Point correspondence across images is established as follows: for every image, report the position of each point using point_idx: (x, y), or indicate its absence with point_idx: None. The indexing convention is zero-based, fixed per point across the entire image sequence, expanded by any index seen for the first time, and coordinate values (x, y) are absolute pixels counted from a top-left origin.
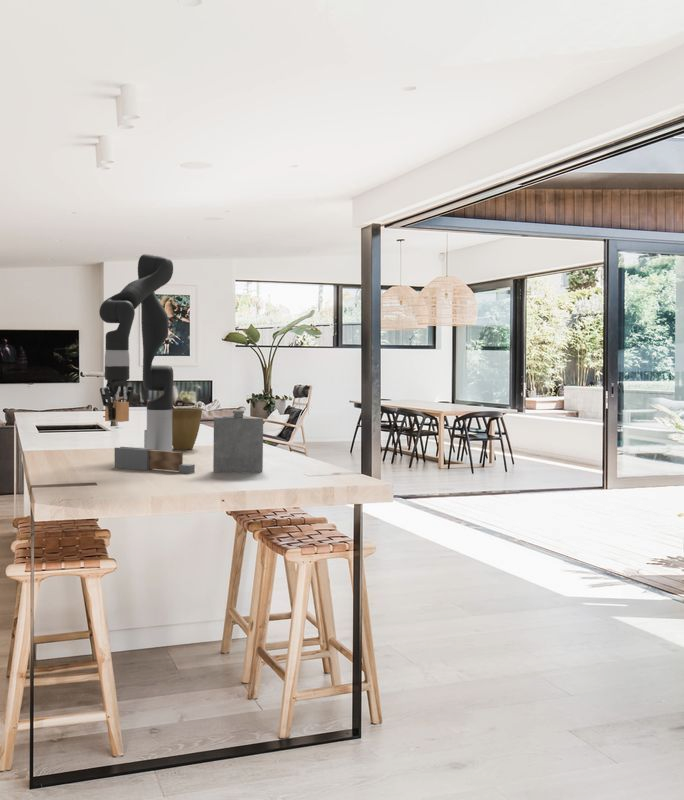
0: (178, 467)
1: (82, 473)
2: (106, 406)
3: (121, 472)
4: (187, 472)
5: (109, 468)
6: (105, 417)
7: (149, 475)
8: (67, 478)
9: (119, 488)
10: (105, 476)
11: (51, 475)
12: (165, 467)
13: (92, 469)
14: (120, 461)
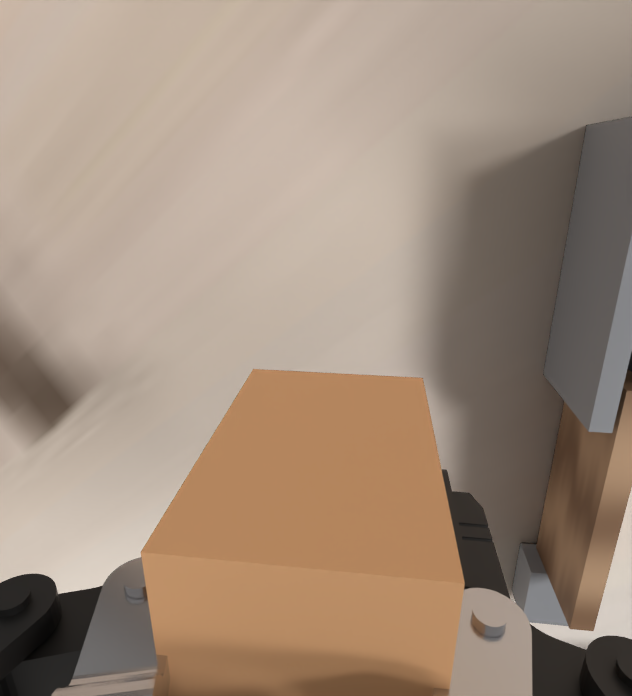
0: (543, 551)
1: (259, 135)
2: (68, 593)
3: (402, 306)
4: (514, 585)
5: (525, 129)
6: (242, 393)
7: None
8: (81, 197)
9: (44, 542)
10: (241, 321)
11: (98, 24)
12: (555, 480)
13: (434, 59)
14: (595, 179)
